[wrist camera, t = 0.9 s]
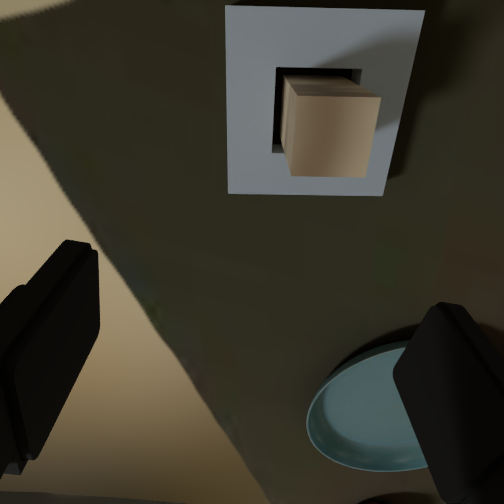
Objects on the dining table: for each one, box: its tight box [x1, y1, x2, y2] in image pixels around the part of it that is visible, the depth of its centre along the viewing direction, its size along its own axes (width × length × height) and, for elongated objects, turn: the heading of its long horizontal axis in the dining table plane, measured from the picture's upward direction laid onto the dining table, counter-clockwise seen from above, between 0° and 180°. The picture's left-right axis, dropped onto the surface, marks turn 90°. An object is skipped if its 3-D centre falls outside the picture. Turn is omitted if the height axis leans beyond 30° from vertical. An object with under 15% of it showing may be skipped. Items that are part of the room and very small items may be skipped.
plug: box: [279, 75, 381, 177], centre depth 23 cm, size 4×4×9 cm
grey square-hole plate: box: [225, 5, 425, 196], centre depth 26 cm, size 12×12×2 cm
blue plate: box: [306, 340, 428, 472], centre depth 44 cm, size 24×24×3 cm
